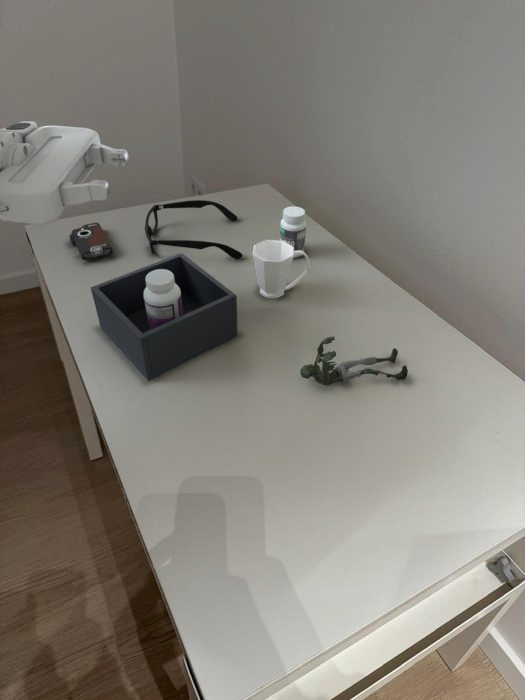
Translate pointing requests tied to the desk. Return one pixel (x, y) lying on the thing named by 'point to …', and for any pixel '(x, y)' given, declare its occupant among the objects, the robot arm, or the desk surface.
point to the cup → (275, 267)
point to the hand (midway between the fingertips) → (117, 173)
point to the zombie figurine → (345, 367)
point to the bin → (172, 337)
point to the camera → (91, 241)
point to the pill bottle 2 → (293, 228)
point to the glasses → (190, 243)
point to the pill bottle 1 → (162, 298)
